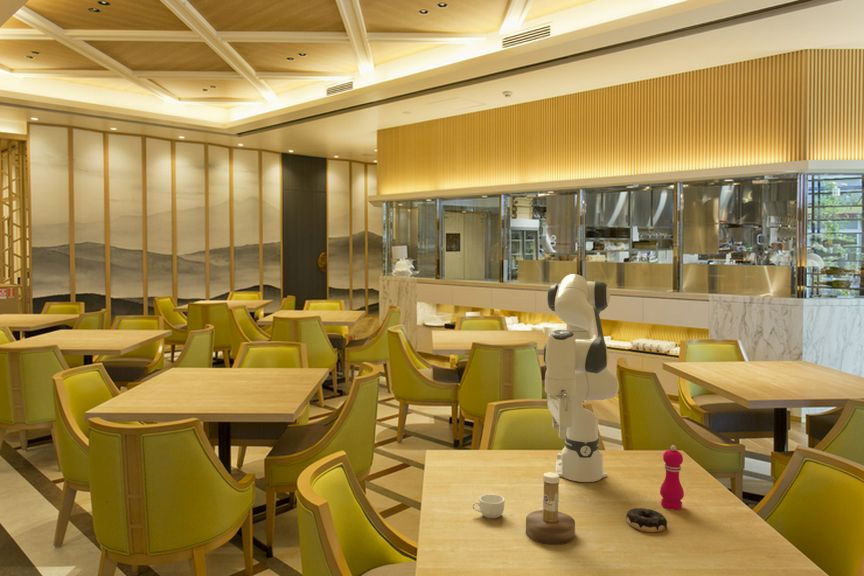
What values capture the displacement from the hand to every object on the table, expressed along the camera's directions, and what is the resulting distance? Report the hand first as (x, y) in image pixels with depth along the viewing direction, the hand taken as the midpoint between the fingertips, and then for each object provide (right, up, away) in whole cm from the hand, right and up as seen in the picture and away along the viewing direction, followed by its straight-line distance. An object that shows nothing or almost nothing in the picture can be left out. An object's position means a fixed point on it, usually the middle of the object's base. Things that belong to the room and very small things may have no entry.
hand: (558, 433), depth 185 cm
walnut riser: (-3, -29, -1) cm, 29 cm away
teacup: (-20, -28, +11) cm, 36 cm away
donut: (+27, -29, +5) cm, 40 cm away
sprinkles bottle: (-3, -25, -1) cm, 25 cm away
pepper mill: (+40, -28, +20) cm, 53 cm away
